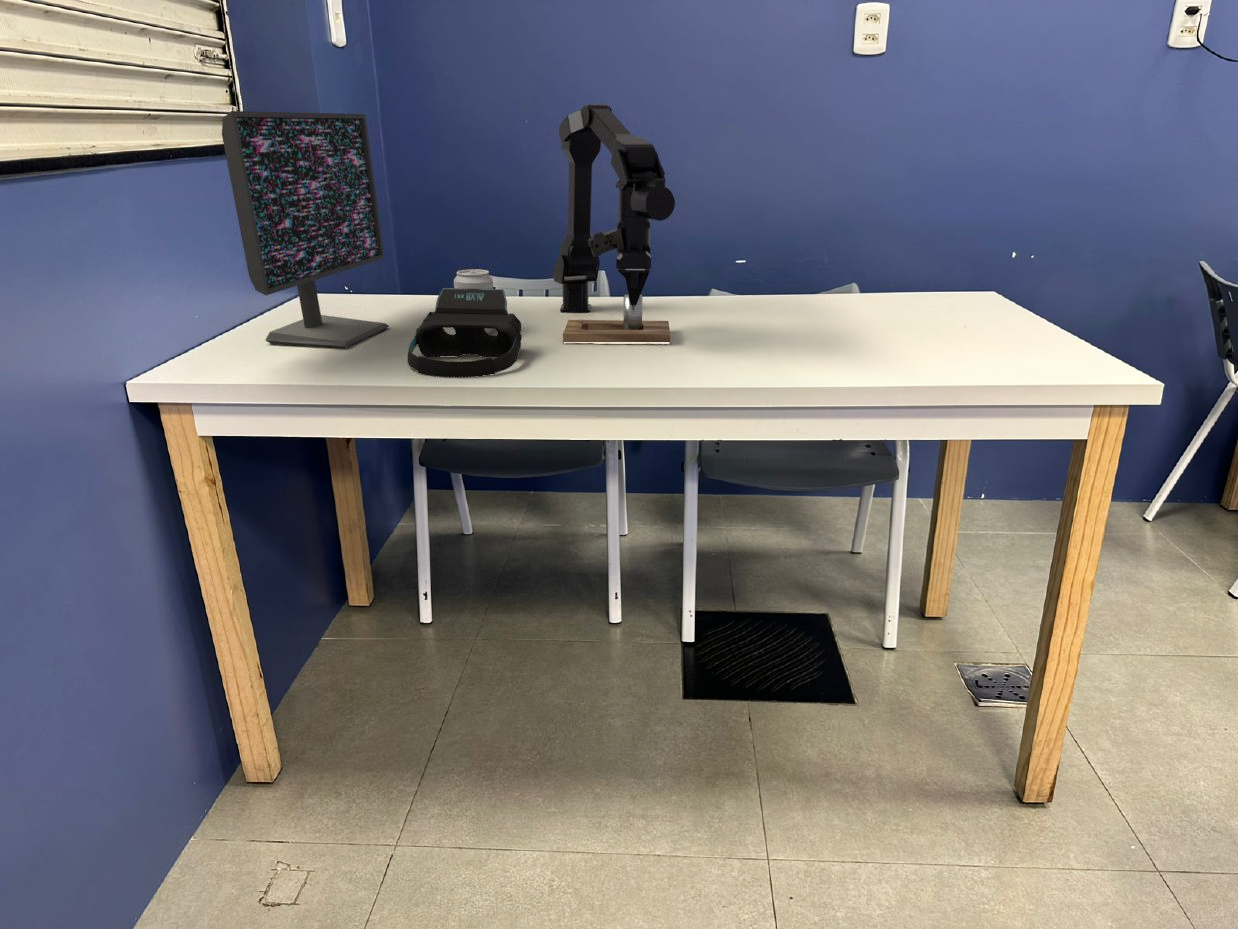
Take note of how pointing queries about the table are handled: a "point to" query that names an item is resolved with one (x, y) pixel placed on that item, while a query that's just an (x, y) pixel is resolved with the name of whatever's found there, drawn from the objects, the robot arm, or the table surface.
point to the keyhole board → (615, 331)
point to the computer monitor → (304, 211)
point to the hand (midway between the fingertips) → (633, 300)
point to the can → (474, 281)
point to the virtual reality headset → (467, 334)
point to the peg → (632, 314)
